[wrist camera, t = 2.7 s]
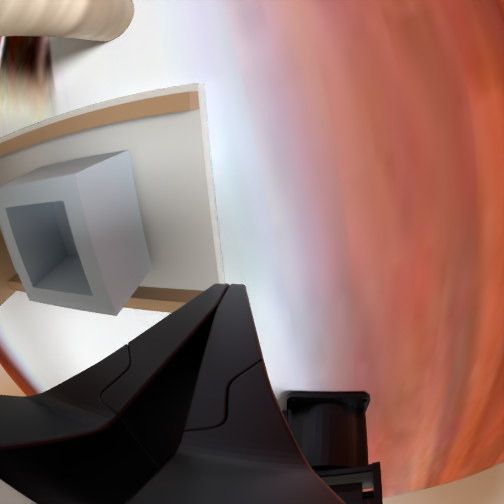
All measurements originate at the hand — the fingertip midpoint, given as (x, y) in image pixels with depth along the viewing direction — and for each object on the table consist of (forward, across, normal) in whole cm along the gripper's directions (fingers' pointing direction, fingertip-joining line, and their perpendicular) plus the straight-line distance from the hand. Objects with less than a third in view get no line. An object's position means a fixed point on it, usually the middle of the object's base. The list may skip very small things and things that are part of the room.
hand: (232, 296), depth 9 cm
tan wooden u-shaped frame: (+8, +12, 0) cm, 15 cm away
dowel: (+8, +8, -11) cm, 15 cm away
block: (+6, +10, 0) cm, 11 cm away
